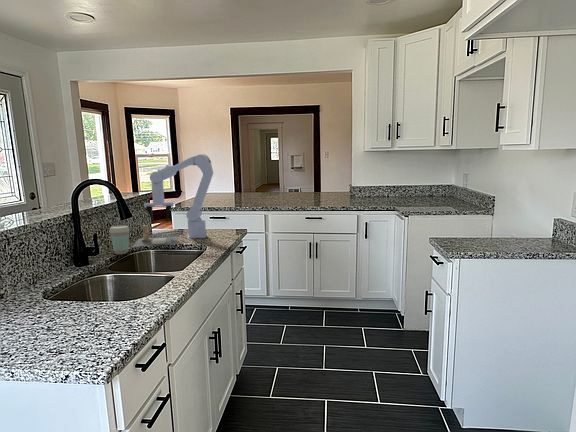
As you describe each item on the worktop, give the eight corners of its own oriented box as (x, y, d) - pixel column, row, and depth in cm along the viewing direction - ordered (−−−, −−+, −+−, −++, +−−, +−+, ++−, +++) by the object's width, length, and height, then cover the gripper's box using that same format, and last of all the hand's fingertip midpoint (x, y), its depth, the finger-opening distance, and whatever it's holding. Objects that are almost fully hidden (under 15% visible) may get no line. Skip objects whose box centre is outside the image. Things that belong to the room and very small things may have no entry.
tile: (166, 237, 194) (165, 240, 188) (166, 241, 194) (165, 243, 189) (153, 238, 193) (152, 241, 187) (154, 241, 193) (152, 244, 187)
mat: (178, 237, 205) (178, 236, 205) (175, 245, 188) (175, 244, 188) (138, 239, 201) (138, 238, 201) (132, 247, 184) (132, 246, 184)
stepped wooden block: (151, 240, 198) (150, 224, 196) (150, 241, 194) (149, 226, 192) (143, 240, 197) (141, 225, 196) (141, 242, 193) (140, 226, 192)
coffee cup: (135, 250, 177) (133, 225, 176) (123, 255, 169) (121, 228, 167) (119, 250, 180) (117, 224, 178) (106, 254, 171) (104, 228, 169)
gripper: (142, 196, 196) (144, 222, 198) (171, 195, 199) (173, 220, 201) (144, 194, 203) (146, 220, 205) (173, 193, 206) (174, 218, 208)
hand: (159, 220), depth 204 cm, fingers open, 7 cm apart
